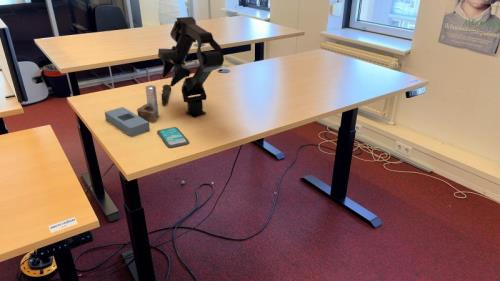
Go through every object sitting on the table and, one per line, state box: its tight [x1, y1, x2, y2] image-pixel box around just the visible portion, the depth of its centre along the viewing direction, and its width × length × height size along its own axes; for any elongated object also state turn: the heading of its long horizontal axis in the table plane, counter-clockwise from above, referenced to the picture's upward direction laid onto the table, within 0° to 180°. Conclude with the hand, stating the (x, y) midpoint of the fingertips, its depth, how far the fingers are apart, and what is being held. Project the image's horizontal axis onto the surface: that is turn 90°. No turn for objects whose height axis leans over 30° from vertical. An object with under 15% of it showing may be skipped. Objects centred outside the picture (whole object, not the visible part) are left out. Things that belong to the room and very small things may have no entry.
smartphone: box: [156, 126, 190, 149], centre depth 142 cm, size 9×1×15 cm
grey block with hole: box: [104, 106, 151, 137], centre depth 150 cm, size 20×8×4 cm, turn 45°
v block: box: [136, 103, 157, 123], centre depth 156 cm, size 6×11×4 cm, turn 25°
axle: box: [145, 85, 160, 119], centre depth 155 cm, size 4×4×13 cm
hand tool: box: [160, 84, 172, 107], centre depth 175 cm, size 19×4×5 cm, turn 4°
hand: (167, 81), depth 159 cm, fingers open, 9 cm apart
